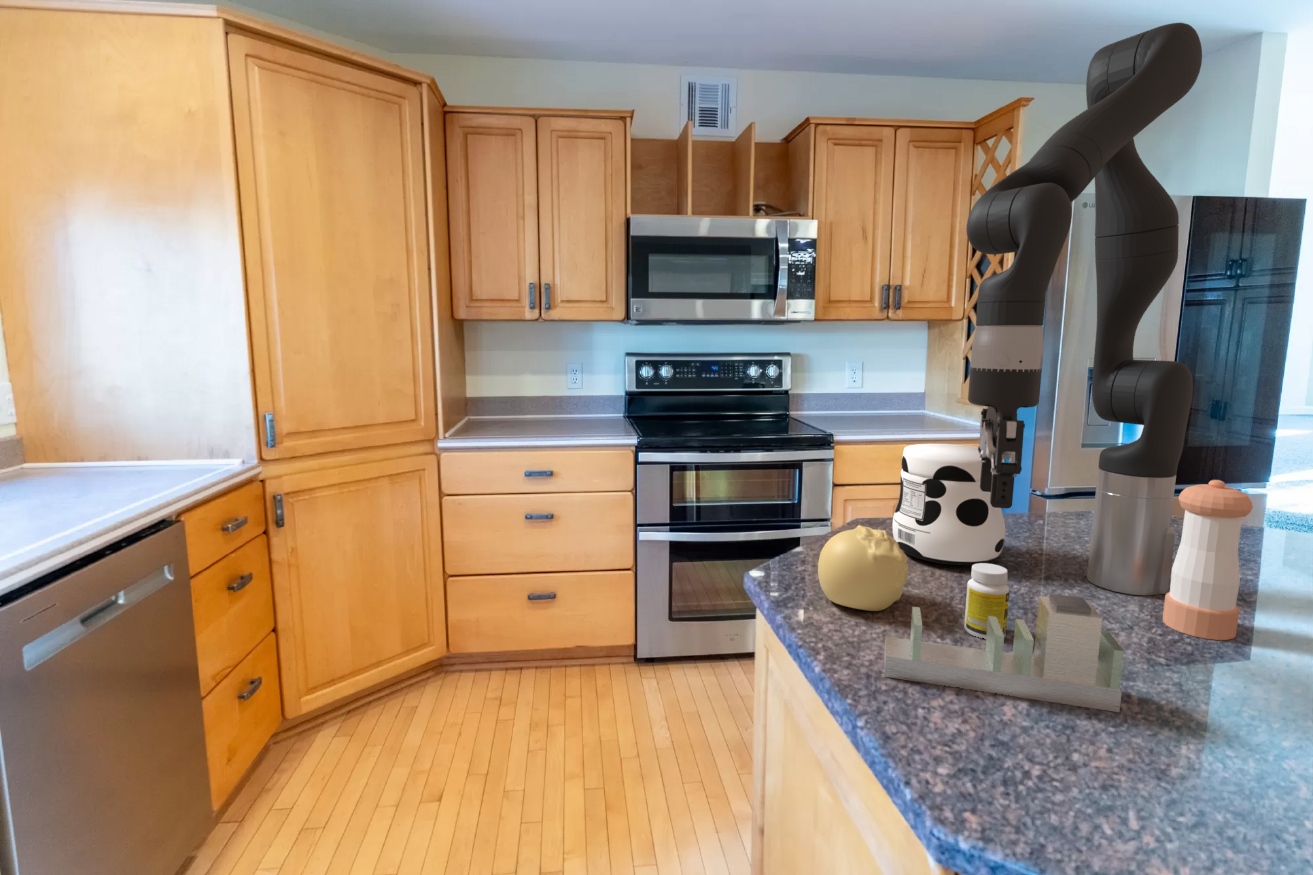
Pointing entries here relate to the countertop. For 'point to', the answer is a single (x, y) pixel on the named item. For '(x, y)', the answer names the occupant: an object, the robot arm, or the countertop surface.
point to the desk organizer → (1023, 658)
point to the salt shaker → (1207, 562)
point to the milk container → (946, 507)
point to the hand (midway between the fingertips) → (994, 498)
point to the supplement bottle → (986, 598)
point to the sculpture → (863, 569)
